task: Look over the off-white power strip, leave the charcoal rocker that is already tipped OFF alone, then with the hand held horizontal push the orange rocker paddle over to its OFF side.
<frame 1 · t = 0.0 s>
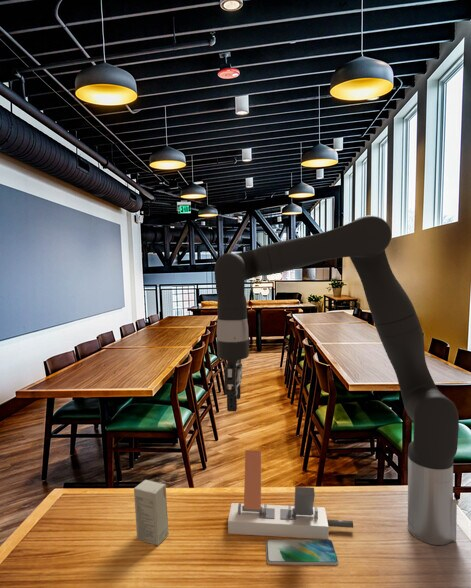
hand: (234, 404, 91), 29 cm above the table, tool pointing down, fingers open, 8 cm apart
skincare box: (152, 537, 88), on the table
power strip: (277, 526, 91), on the table
rocker B: (252, 480, 94), point 9 cm above the table, hinge at 30.0°
smartphone: (300, 554, 83), on the table
rocker A: (303, 502, 86), point 9 cm above the table, hinge at -40.0°
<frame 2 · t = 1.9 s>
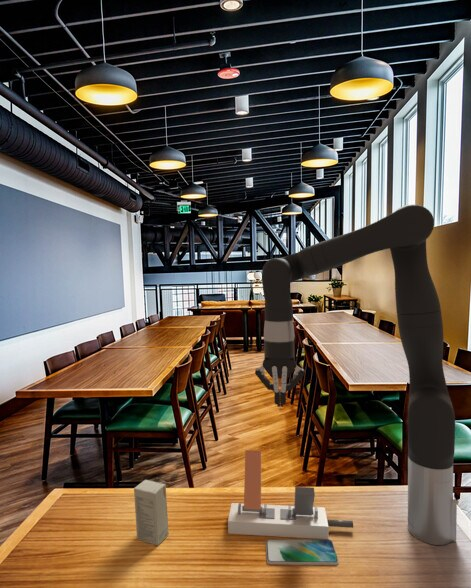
hand: (280, 405, 96), 27 cm above the table, tool pointing down, fingers closed
nothing on the table moved.
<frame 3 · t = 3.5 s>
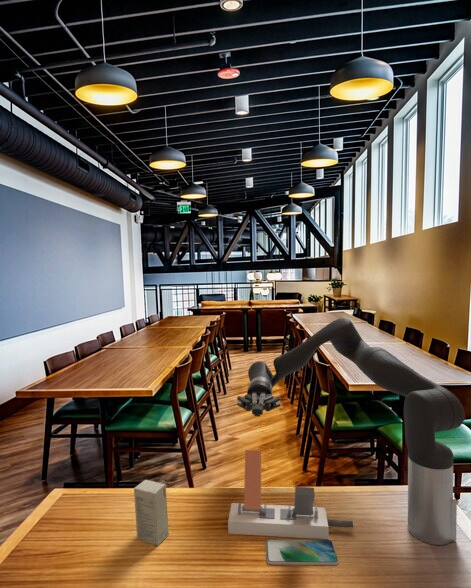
hand: (256, 412, 100), 24 cm above the table, tool horizontal, fingers closed
nothing on the table moved.
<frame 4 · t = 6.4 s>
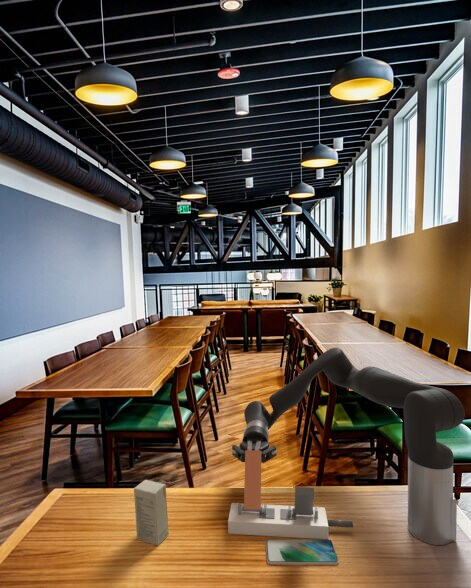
hand: (251, 466, 97), 12 cm above the table, tool horizontal, fingers closed
rocker B: (252, 480, 94), point 9 cm above the table, hinge at 29.4°, touching gripper
everything else where it was.
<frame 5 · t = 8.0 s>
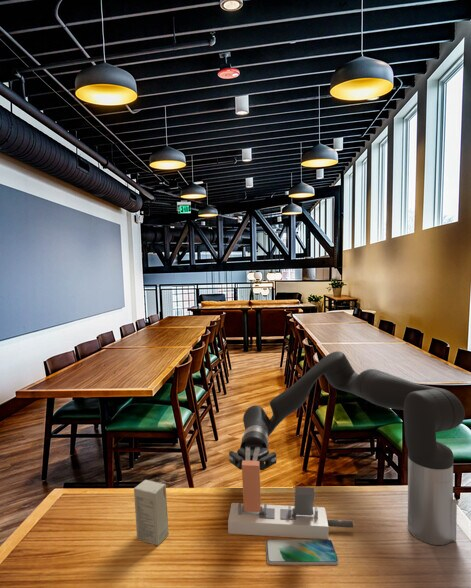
hand: (249, 474, 90), 13 cm above the table, tool horizontal, fingers closed
rocker B: (251, 487, 90), point 10 cm above the table, hinge at -11.6°, touching gripper
everything else where it was.
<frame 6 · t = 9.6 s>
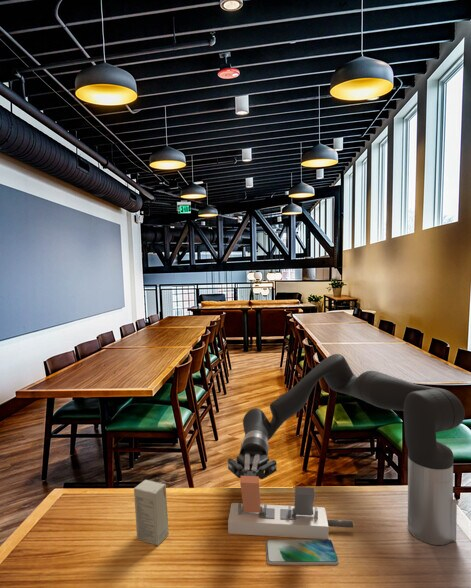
hand: (248, 483, 87), 12 cm above the table, tool horizontal, fingers closed
rocker B: (251, 495, 88), point 9 cm above the table, hinge at -31.2°, touching gripper
everything else where it was.
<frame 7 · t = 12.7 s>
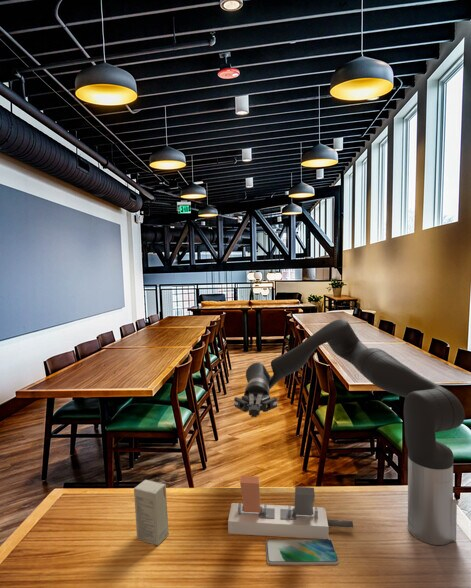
hand: (253, 413, 100), 24 cm above the table, tool horizontal, fingers closed
rocker B: (251, 495, 88), point 9 cm above the table, hinge at -31.4°
everything else where it was.
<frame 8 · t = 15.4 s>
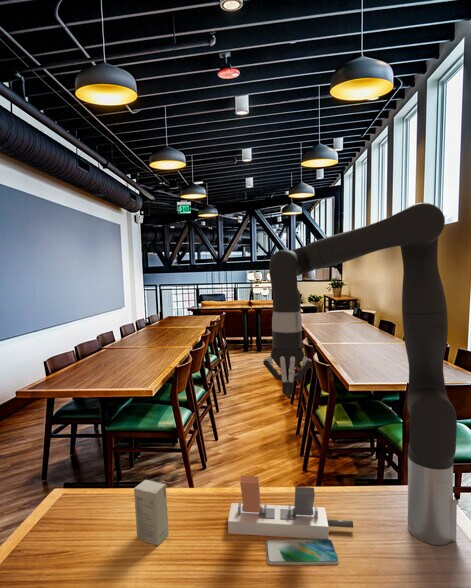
hand: (287, 395, 98), 29 cm above the table, tool pointing down, fingers closed
nothing on the table moved.
at the end: rocker B at -31° (first picture: +30°); rocker A at -40° (first picture: -40°) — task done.
